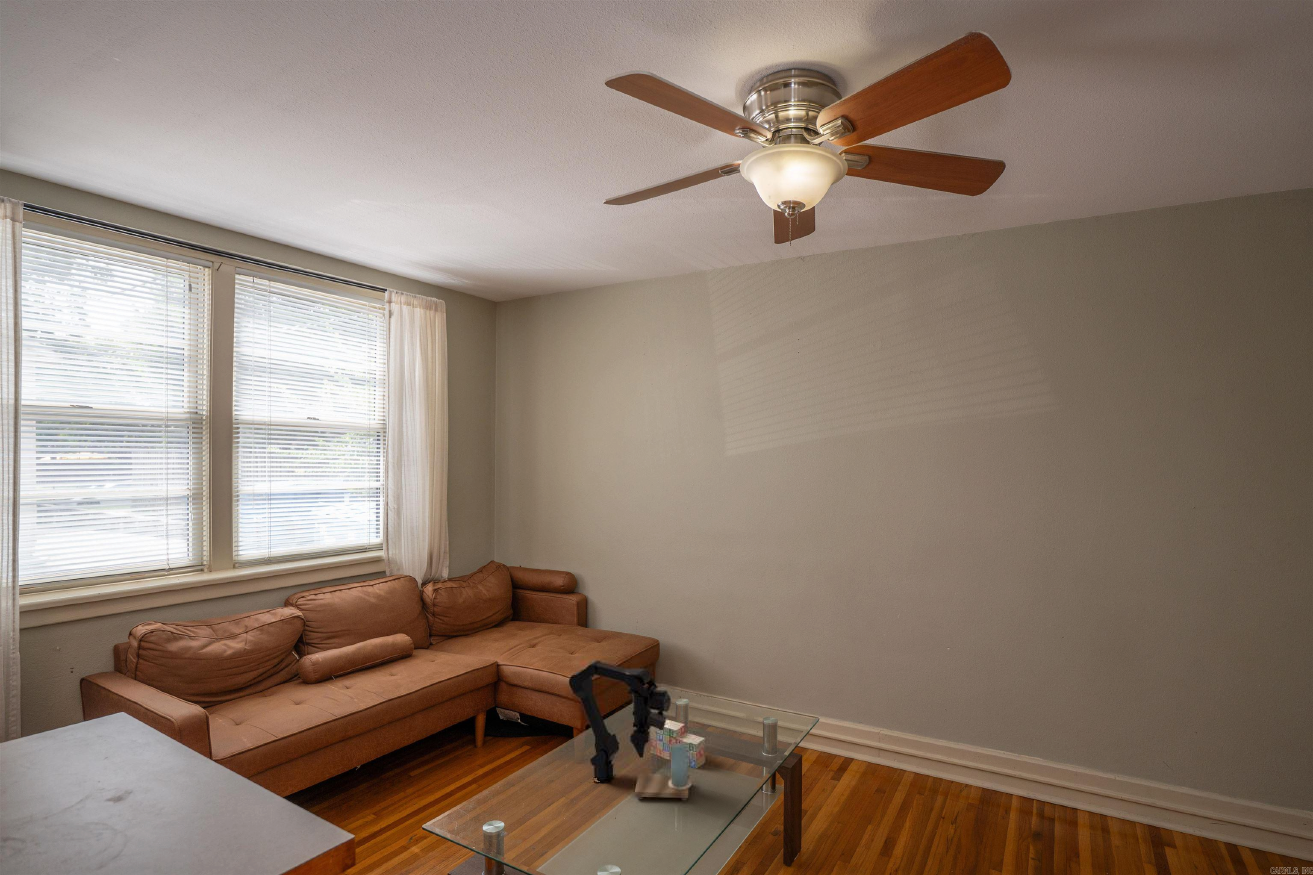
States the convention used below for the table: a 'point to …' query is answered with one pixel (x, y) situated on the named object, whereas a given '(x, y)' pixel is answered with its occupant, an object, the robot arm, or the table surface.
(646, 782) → the plate
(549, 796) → the table surface
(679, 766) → the light blue rounded piece
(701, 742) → the stack of blocks
